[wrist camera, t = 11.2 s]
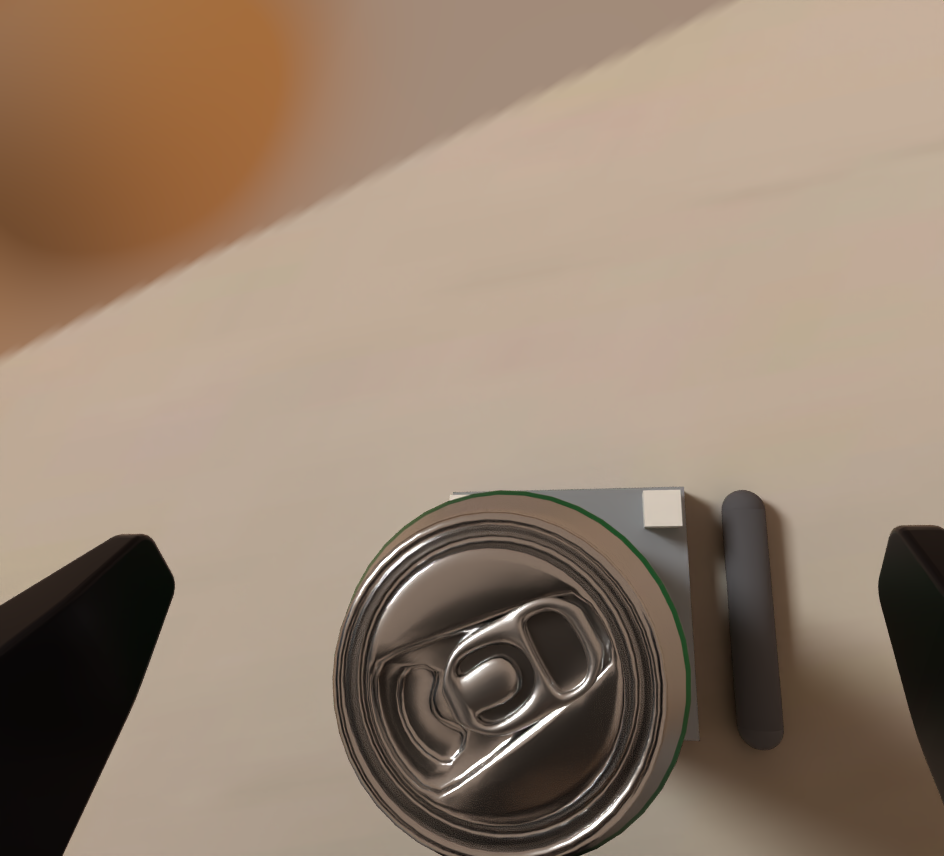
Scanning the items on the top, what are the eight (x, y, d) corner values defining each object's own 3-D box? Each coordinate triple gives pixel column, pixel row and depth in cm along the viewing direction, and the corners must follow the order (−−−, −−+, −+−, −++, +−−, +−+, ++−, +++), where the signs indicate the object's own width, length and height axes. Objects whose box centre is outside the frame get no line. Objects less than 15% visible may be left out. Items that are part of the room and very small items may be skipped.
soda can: (453, 575, 21) (248, 595, 9) (597, 494, 21) (564, 412, 9) (533, 734, 20) (406, 981, 8) (689, 651, 19) (790, 789, 8)
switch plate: (695, 732, 20) (704, 752, 18) (460, 720, 21) (441, 739, 19) (680, 490, 21) (687, 482, 19) (460, 495, 22) (443, 488, 20)
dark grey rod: (780, 745, 19) (790, 756, 18) (735, 742, 20) (742, 753, 18) (758, 491, 21) (767, 487, 20) (717, 492, 21) (722, 488, 20)
